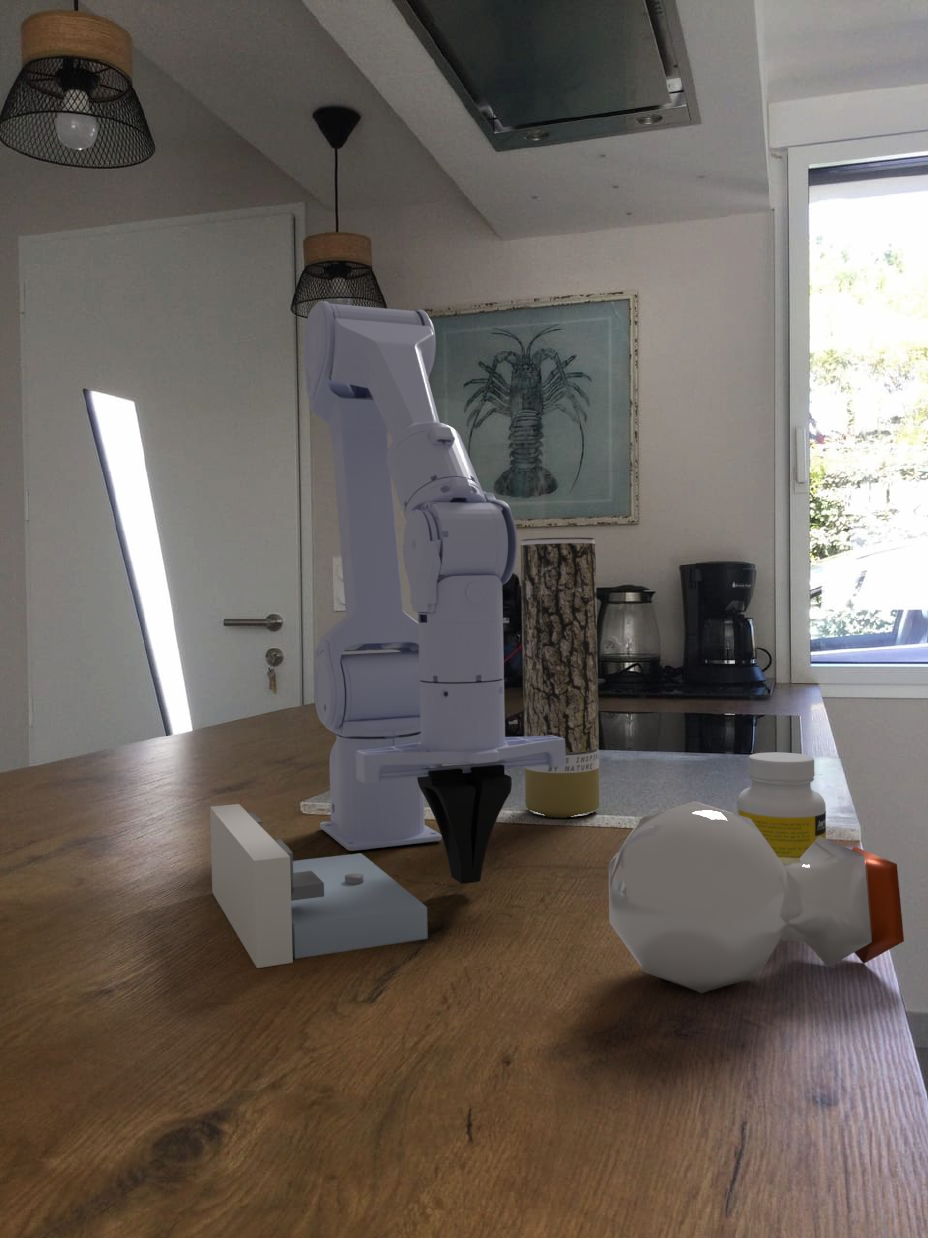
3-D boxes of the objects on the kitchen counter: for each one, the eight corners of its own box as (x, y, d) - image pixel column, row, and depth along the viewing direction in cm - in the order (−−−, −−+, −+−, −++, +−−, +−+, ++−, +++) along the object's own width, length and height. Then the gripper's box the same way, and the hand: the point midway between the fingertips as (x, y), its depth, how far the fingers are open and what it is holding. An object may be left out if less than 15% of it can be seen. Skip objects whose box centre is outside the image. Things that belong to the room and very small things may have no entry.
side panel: (212, 892, 73) (210, 806, 73) (275, 884, 75) (273, 800, 75) (257, 968, 58) (254, 860, 58) (334, 956, 60) (331, 851, 60)
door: (250, 900, 73) (249, 860, 73) (361, 886, 76) (361, 847, 76) (295, 967, 60) (294, 918, 60) (427, 947, 63) (426, 900, 63)
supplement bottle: (832, 926, 64) (831, 764, 63) (739, 922, 65) (738, 763, 65) (820, 899, 69) (819, 750, 69) (735, 896, 70) (733, 749, 70)
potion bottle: (589, 1009, 55) (844, 1013, 59) (660, 952, 48) (949, 959, 51) (571, 843, 61) (805, 854, 64) (631, 767, 53) (895, 784, 56)
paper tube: (612, 808, 98) (607, 538, 97) (579, 823, 92) (574, 536, 92) (547, 801, 102) (542, 541, 101) (511, 815, 96) (506, 539, 95)
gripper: (375, 690, 65) (380, 909, 65) (585, 678, 70) (588, 881, 71) (345, 681, 72) (350, 880, 72) (539, 671, 77) (542, 856, 77)
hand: (465, 879), depth 72 cm, fingers closed
